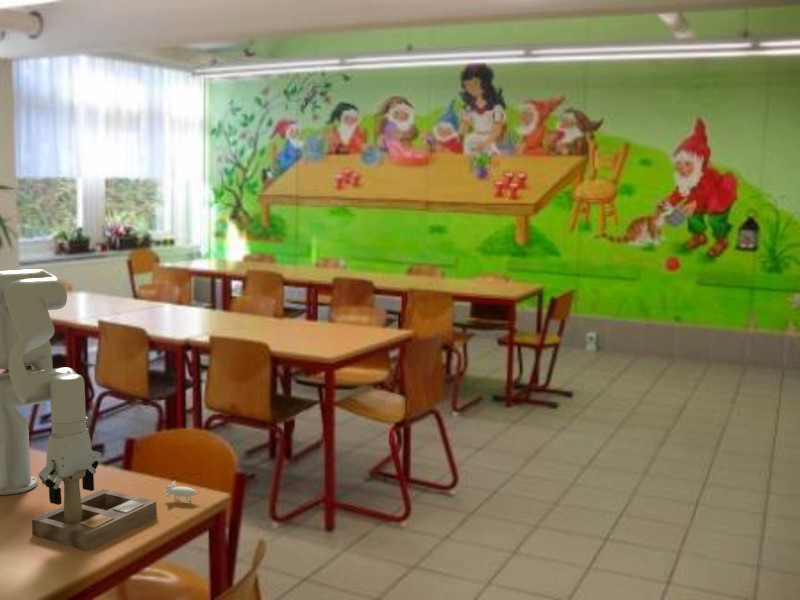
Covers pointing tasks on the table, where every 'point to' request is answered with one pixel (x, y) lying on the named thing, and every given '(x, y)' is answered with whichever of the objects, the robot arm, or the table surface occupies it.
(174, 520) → the table surface
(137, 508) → the socket block
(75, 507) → the handle
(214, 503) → the table surface
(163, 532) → the table surface
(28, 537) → the table surface
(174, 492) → the white animal figurine
